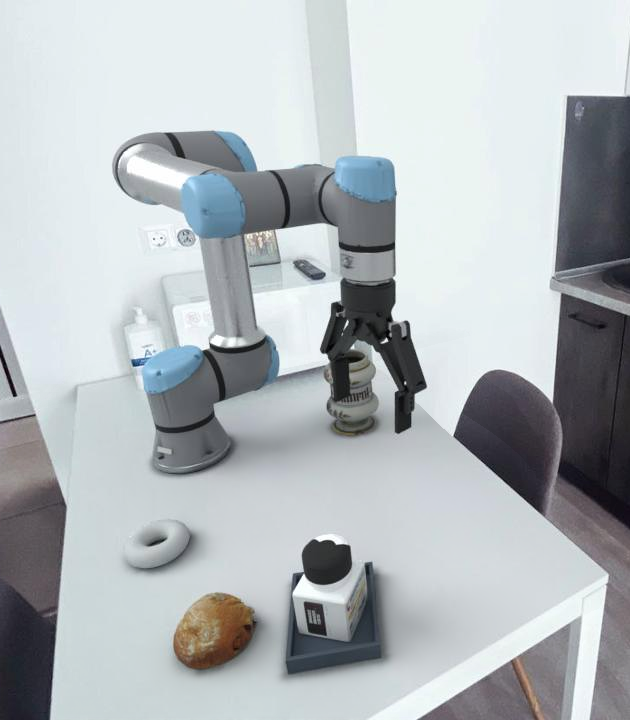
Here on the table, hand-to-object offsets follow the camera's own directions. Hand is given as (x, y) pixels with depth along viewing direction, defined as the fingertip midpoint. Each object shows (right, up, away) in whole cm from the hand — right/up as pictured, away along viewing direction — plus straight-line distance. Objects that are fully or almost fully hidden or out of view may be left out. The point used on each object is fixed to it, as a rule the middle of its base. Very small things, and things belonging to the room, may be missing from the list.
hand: (371, 413), depth 83 cm
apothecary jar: (-10, -8, +46) cm, 48 cm away
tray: (-5, -30, -4) cm, 30 cm away
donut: (-37, -24, +9) cm, 45 cm away
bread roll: (-20, -31, -7) cm, 38 cm away
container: (-5, -29, -4) cm, 30 cm away
